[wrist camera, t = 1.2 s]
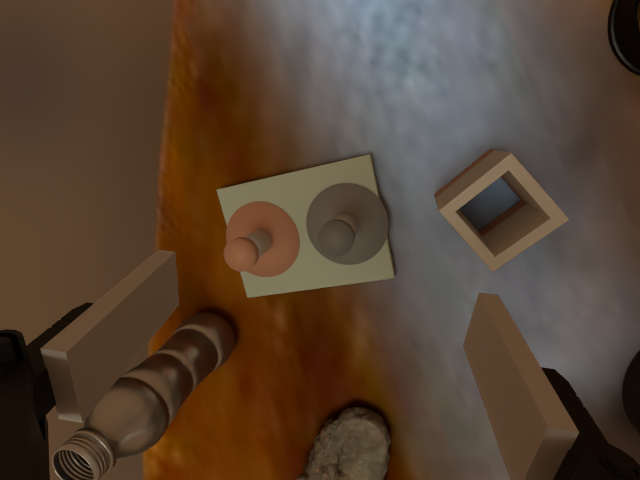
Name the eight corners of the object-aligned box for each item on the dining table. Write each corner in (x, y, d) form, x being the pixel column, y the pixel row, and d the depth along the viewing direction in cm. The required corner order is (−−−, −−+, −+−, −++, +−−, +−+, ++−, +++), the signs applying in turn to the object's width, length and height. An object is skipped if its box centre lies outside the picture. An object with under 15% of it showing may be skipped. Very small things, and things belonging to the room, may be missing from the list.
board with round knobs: (376, 152, 35) (367, 156, 29) (400, 273, 38) (396, 300, 32) (218, 189, 40) (181, 199, 34) (248, 294, 43) (218, 321, 36)
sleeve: (490, 149, 33) (511, 153, 26) (535, 200, 33) (569, 219, 26) (434, 194, 35) (438, 210, 28) (476, 242, 35) (492, 271, 28)
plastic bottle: (184, 307, 45) (20, 428, 27) (235, 303, 43) (96, 431, 25) (197, 355, 47) (50, 503, 28) (247, 354, 45) (125, 510, 26)
